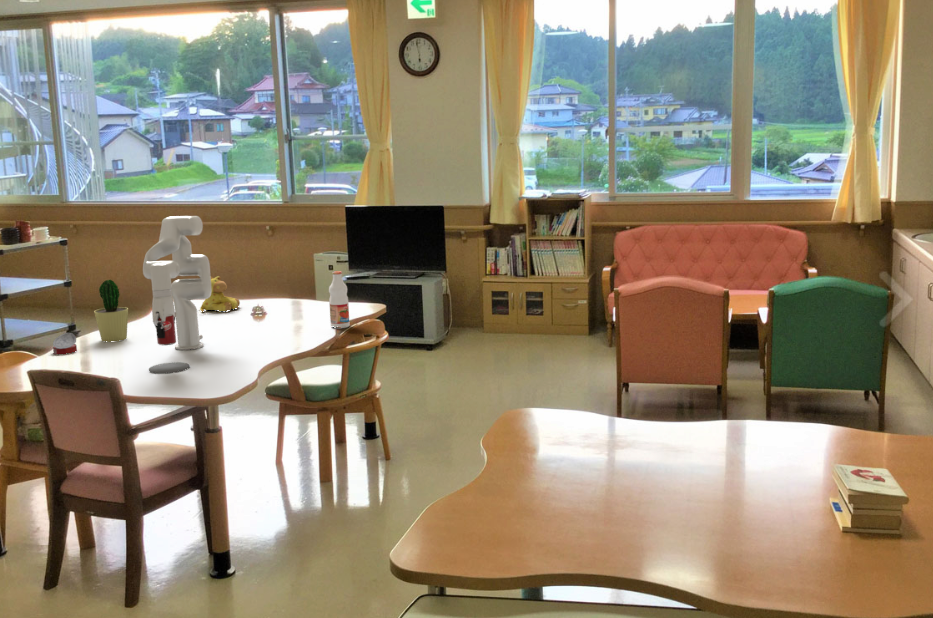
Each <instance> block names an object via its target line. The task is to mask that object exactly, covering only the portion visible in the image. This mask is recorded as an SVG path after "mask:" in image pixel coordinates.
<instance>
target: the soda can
mask: <svg viewBox="0 0 933 618" xmlns="http://www.w3.org/2000/svg"><path fill="white" fill-rule="evenodd" d="M161 320H162V319H161V318H160V317H159V319H158V321H161ZM175 324H176V322H175V323H174V315H173V314H172V315H170V316H166V321H165V322H164V326H163V328H164V331H165V338H157V337H156V340H157V342H156V343H157V345H158V346H172V345H176V343H177V337H176V336H177V335H176V334H177V333H176V325H175ZM160 325H161V323H160ZM155 329H156V328H155ZM155 331H156V333H157V329H156V330H155Z"/></svg>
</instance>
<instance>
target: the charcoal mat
mask: <svg viewBox="0 0 933 618" xmlns="http://www.w3.org/2000/svg"><path fill="white" fill-rule="evenodd" d="M187 368H188V369H190V363H188V362H181V361H180V362H179V361H177V362H175V361H174V362H172V361H171V362H164V363H159V364H155V365H152V366H150V367H149V368H148V372H149V371H150V372H149V373H151V372H153V373H152V374H156V373H165V374H174V373H173V372H175V373H180V372H183V370H184V371H186V370H188V369H187ZM185 369H186V370H185ZM179 371H180V372H179Z"/></svg>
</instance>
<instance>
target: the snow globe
mask: <svg viewBox="0 0 933 618" xmlns="http://www.w3.org/2000/svg"><path fill="white" fill-rule="evenodd" d="M52 342H53V343H52V346H53V347H52V352H53V354H54V355H56V354H63V355H67V354H66V353H70V354H73V353H72V352H74V353H76V352H75V351H77V352H78V347H77V344H76V343H77V336H76V335H75V333H72V332H65V333H62V334H60V335H58V336H57V337H56V338H55V339H54V340H53V341H52Z"/></svg>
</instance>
